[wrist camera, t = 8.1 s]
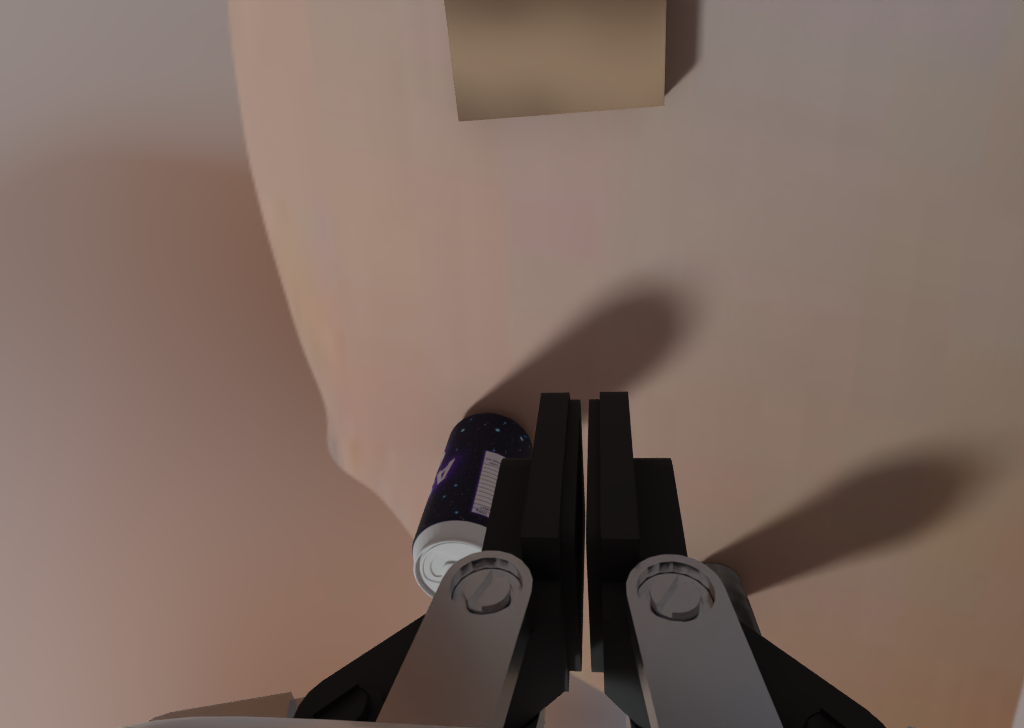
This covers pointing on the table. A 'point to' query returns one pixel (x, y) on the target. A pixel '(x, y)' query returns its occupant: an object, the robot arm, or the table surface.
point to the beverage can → (464, 494)
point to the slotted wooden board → (555, 56)
